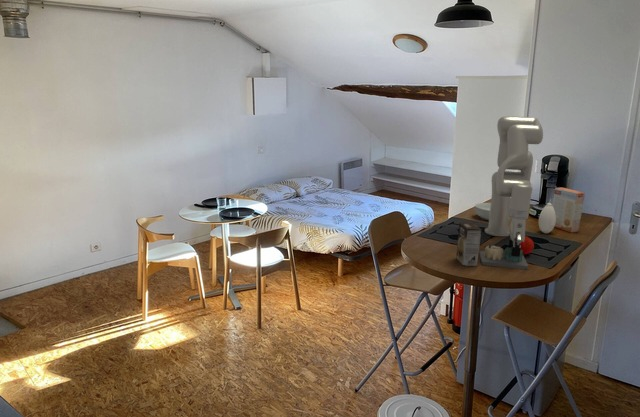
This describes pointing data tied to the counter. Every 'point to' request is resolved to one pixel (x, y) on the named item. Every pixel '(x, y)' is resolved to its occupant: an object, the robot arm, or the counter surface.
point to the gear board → (499, 258)
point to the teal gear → (512, 258)
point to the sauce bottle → (547, 218)
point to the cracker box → (568, 208)
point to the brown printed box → (468, 244)
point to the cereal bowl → (483, 210)
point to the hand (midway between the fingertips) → (513, 252)
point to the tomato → (527, 245)
